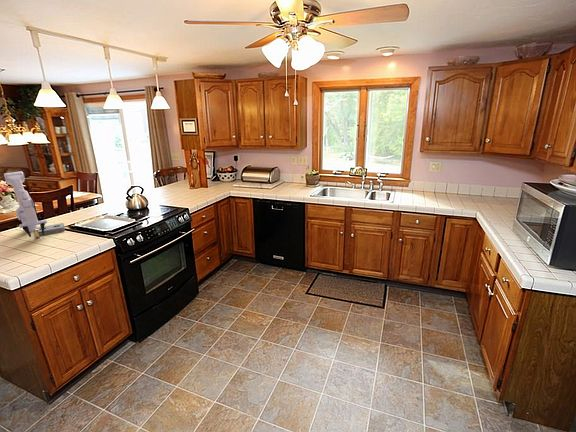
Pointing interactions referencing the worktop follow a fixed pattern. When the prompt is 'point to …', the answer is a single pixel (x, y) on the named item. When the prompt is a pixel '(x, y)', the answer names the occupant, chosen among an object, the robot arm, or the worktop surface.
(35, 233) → the brass pin
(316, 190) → the worktop surface
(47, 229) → the bore block
